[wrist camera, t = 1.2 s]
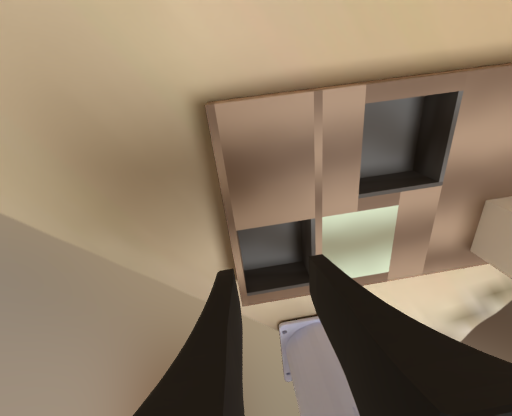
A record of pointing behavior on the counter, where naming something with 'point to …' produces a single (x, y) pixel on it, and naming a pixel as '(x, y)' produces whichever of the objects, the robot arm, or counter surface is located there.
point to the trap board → (361, 176)
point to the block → (495, 235)
